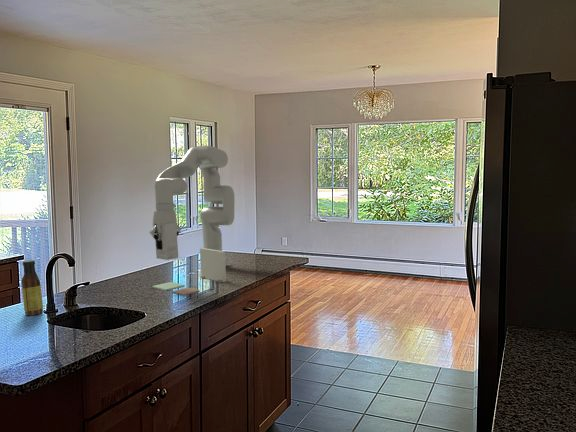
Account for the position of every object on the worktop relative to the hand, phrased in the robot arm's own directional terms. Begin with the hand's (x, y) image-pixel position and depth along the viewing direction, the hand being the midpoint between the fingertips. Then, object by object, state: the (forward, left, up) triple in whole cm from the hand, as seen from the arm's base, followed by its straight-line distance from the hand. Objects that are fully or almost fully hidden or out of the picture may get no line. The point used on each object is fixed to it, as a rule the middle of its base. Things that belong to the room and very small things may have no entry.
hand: (166, 247), depth 232 cm
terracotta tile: (+1, +14, -17) cm, 22 cm away
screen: (-22, +5, -17) cm, 28 cm away
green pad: (0, 0, -17) cm, 17 cm away
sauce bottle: (+56, -5, -18) cm, 59 cm away
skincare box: (0, 0, -5) cm, 5 cm away
